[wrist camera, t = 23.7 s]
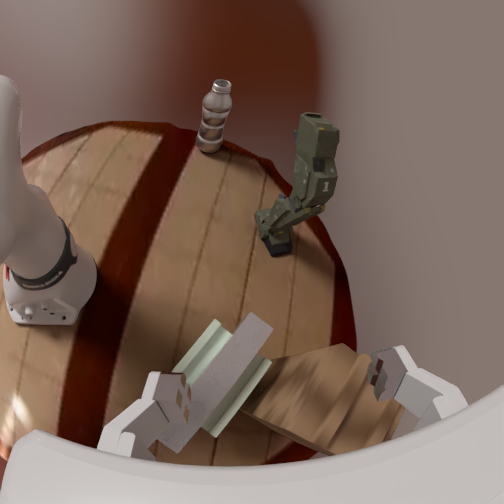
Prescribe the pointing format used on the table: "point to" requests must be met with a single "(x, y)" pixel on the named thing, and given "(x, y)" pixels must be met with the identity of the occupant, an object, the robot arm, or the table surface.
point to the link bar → (218, 379)
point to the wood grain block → (323, 401)
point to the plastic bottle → (214, 117)
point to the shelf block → (242, 387)
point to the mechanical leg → (303, 183)
